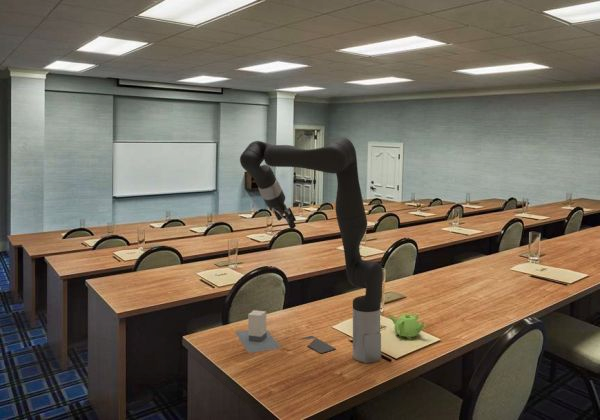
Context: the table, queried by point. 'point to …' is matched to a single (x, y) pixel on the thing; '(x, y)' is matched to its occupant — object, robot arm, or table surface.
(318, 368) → the table surface
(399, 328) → the teapot
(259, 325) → the block
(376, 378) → the table surface
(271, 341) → the desk mat
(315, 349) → the smartphone
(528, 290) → the table surface
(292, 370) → the table surface
